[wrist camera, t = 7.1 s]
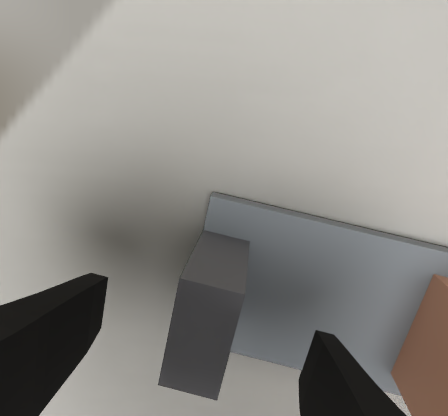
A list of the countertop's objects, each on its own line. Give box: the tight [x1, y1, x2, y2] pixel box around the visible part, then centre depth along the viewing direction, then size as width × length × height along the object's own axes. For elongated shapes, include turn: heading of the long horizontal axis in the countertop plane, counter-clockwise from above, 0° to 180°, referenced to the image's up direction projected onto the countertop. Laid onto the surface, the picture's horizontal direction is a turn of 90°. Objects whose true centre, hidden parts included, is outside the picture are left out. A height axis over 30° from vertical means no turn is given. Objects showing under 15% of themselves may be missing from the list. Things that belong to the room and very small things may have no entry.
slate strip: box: [158, 192, 448, 400], centre depth 13 cm, size 7×18×5 cm, turn 78°
